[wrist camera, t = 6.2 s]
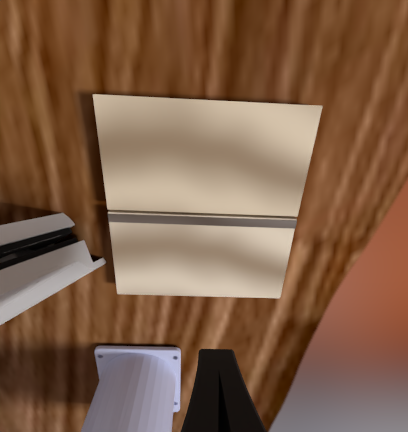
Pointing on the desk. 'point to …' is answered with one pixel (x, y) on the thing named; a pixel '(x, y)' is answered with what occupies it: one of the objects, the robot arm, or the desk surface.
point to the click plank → (204, 154)
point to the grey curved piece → (39, 262)
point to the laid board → (200, 253)
